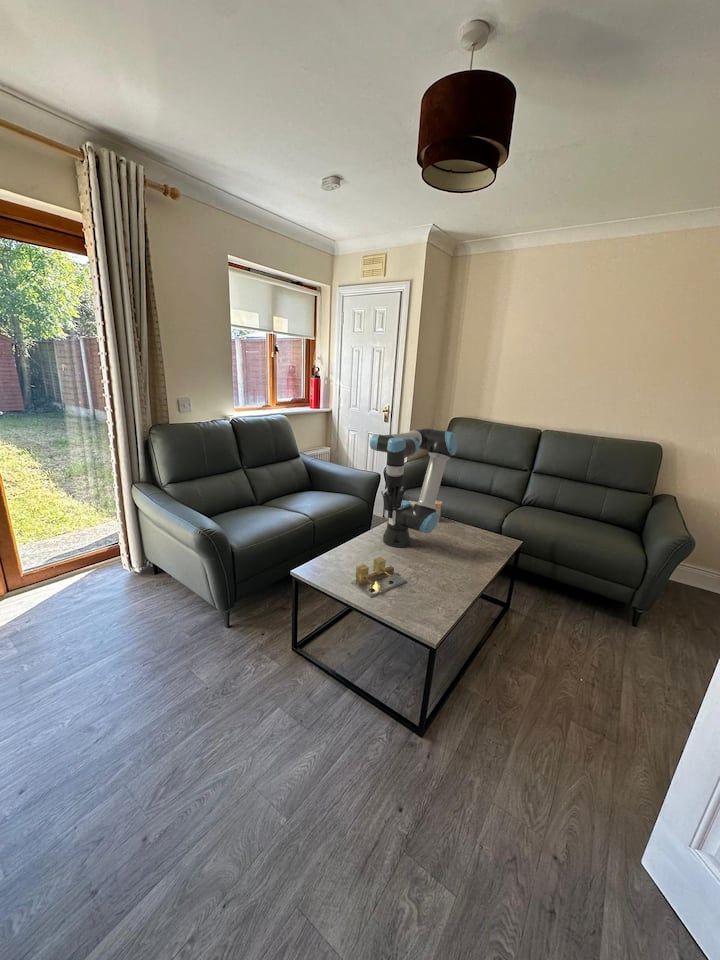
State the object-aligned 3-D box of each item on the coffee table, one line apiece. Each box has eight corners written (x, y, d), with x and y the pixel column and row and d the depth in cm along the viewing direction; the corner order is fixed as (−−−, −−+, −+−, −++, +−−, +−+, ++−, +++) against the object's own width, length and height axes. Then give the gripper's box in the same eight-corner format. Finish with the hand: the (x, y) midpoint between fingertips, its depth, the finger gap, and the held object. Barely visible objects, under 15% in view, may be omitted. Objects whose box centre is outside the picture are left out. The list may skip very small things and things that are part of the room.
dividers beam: (354, 582, 170) (355, 566, 168) (389, 569, 183) (390, 553, 181) (368, 593, 163) (369, 576, 161) (404, 578, 176) (405, 562, 173)
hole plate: (351, 583, 171) (351, 581, 171) (386, 569, 184) (386, 567, 184) (370, 597, 162) (370, 595, 162) (405, 582, 175) (405, 580, 174)
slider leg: (372, 574, 176) (373, 559, 174) (379, 571, 179) (380, 556, 177) (387, 584, 169) (388, 568, 167) (394, 581, 172) (395, 565, 169)
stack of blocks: (405, 517, 249) (407, 499, 245) (407, 513, 255) (409, 496, 251) (439, 522, 243) (441, 504, 240) (440, 519, 249) (442, 501, 245)
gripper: (389, 478, 161) (386, 530, 168) (411, 473, 168) (407, 523, 176) (377, 474, 166) (375, 524, 174) (399, 469, 174) (396, 517, 181)
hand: (391, 523), depth 175 cm, fingers closed
